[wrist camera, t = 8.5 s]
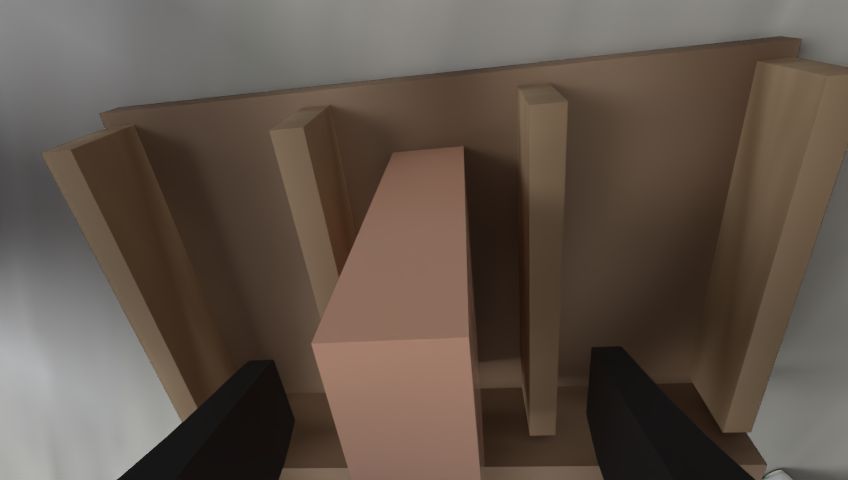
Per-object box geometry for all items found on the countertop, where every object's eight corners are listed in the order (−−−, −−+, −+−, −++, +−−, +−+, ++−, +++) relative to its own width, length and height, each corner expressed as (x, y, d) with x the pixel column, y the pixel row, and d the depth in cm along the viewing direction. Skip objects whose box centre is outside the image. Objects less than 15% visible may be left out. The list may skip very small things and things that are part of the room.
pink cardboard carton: (424, 363, 16) (398, 636, 9) (392, 152, 13) (310, 343, 6) (479, 362, 16) (494, 640, 9) (463, 146, 13) (468, 337, 5)
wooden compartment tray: (239, 394, 19) (189, 484, 16) (117, 107, 13) (-2, 146, 10) (698, 381, 17) (760, 481, 13) (780, 36, 11) (923, 54, 8)
